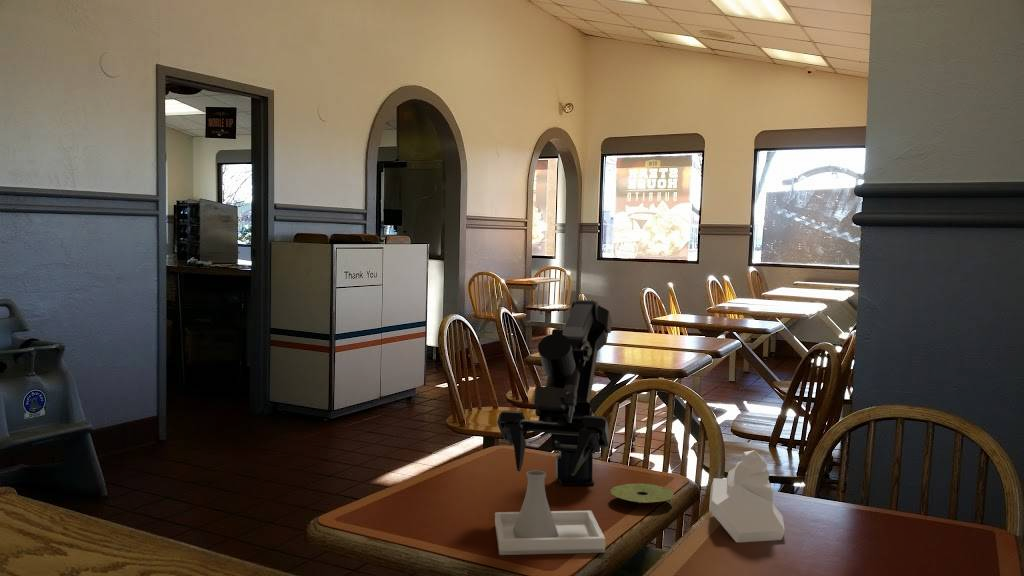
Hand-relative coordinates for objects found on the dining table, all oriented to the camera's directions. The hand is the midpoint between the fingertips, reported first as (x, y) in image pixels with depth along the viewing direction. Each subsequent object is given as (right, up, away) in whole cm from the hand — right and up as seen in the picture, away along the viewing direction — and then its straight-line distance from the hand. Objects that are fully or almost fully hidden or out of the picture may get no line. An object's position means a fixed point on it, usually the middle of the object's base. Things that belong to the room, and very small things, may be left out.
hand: (545, 472), depth 138 cm
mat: (+18, -8, +12) cm, 23 cm away
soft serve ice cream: (+33, -9, -1) cm, 34 cm away
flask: (-2, -9, -6) cm, 11 cm away
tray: (0, -9, -6) cm, 11 cm away
